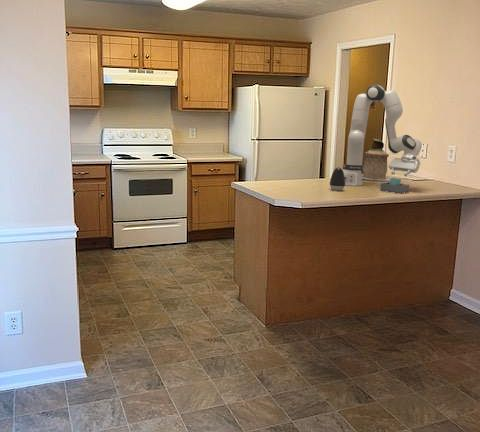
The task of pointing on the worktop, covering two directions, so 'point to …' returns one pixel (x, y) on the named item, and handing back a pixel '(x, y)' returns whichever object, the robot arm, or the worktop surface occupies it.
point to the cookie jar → (375, 162)
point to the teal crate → (395, 181)
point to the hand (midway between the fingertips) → (398, 174)
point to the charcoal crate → (394, 188)
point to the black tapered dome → (337, 180)
